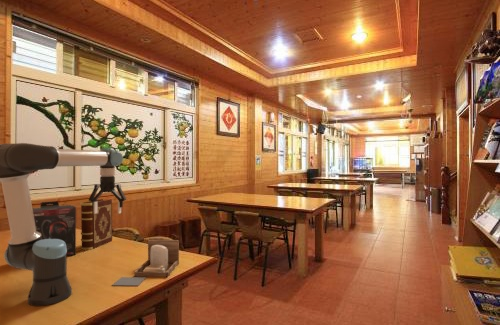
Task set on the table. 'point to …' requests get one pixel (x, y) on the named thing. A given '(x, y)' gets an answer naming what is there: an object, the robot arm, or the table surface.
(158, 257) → the photo printer
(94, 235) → the decorative book
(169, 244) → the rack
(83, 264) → the table surface
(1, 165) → the robot arm
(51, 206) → the headset box
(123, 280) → the mat
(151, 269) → the offcut stack
